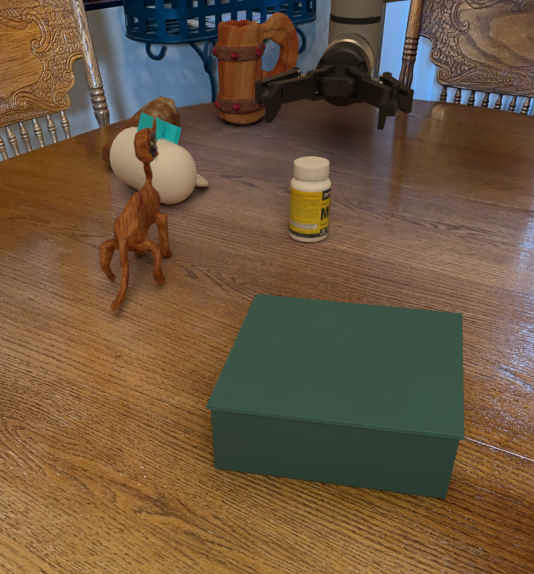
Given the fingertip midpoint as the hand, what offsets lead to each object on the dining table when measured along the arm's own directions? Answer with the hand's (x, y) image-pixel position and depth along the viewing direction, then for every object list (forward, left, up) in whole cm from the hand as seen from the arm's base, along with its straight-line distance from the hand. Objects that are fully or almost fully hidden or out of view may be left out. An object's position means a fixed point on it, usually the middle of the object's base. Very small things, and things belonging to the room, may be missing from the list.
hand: (324, 114), depth 83 cm
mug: (+16, -35, -11) cm, 40 cm away
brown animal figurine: (+16, +25, -11) cm, 31 cm away
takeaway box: (-8, +45, -11) cm, 47 cm away
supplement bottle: (0, +10, -11) cm, 15 cm away
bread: (+29, -15, -11) cm, 35 cm away
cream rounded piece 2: (+20, 0, -11) cm, 23 cm away
